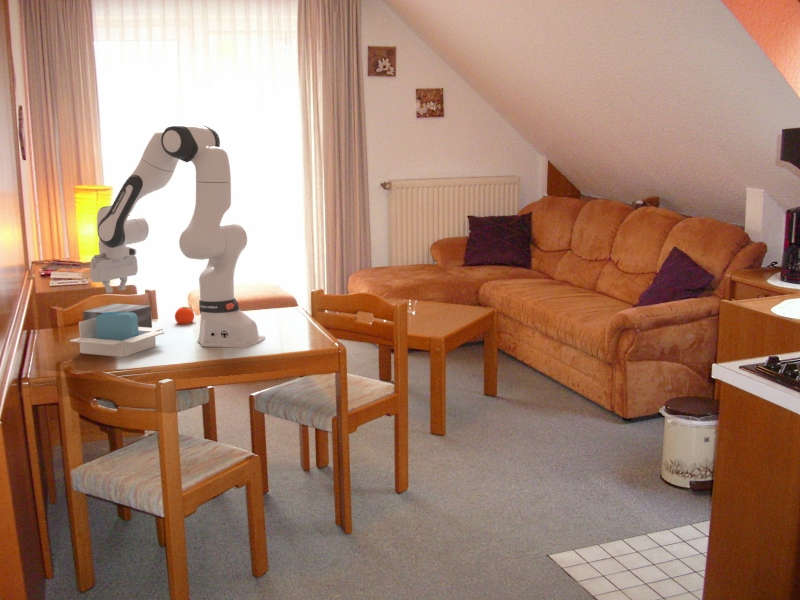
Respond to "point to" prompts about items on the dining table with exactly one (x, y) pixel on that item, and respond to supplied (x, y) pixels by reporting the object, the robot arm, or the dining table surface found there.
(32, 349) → the dining table surface
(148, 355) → the dining table surface
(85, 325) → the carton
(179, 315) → the clementine
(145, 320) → the riser
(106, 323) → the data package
